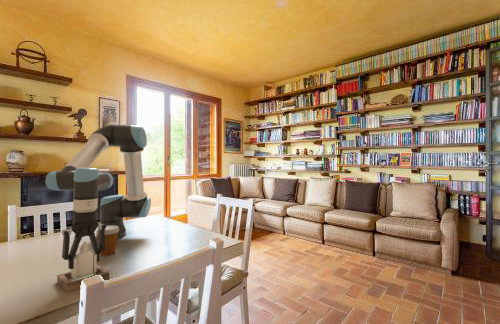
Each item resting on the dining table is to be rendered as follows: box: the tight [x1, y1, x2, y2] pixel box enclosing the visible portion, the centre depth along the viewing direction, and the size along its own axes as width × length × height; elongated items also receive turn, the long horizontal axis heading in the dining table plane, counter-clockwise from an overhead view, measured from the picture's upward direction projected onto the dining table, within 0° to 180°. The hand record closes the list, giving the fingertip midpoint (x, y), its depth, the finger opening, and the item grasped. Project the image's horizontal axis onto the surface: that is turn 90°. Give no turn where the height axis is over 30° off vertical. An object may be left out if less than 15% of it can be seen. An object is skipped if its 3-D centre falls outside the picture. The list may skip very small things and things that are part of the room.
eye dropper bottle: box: [75, 241, 94, 277], centre depth 91 cm, size 4×6×12 cm
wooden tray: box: [56, 263, 111, 293], centre depth 91 cm, size 11×13×2 cm
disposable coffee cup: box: [95, 225, 120, 256], centre depth 118 cm, size 10×10×12 cm
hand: (84, 274), depth 91 cm, fingers closed on eye dropper bottle, 6 cm apart
